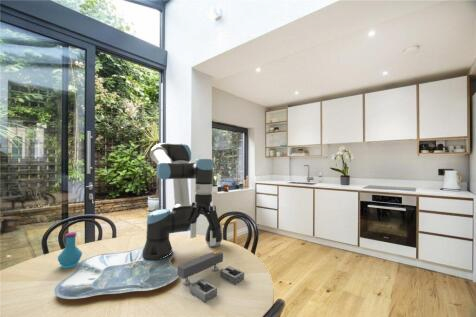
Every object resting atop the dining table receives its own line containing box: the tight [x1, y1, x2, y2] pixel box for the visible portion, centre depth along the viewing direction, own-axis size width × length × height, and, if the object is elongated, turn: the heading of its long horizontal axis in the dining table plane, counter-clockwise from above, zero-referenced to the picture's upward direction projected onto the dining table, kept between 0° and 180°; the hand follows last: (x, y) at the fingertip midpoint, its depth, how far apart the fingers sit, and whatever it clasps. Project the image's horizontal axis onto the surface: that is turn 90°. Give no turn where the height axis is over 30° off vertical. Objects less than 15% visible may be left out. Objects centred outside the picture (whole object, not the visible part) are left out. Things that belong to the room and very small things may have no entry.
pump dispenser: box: [205, 224, 223, 248], centre depth 134 cm, size 10×10×15 cm
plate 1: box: [189, 278, 218, 304], centre depth 84 cm, size 9×6×3 cm, turn 48°
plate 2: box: [219, 265, 245, 286], centre depth 96 cm, size 9×6×3 cm, turn 48°
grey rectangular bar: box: [176, 249, 224, 286], centre depth 97 cm, size 4×22×8 cm, turn 138°
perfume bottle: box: [57, 231, 83, 269], centre depth 105 cm, size 9×9×15 cm
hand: (202, 241), depth 97 cm, fingers open, 13 cm apart
